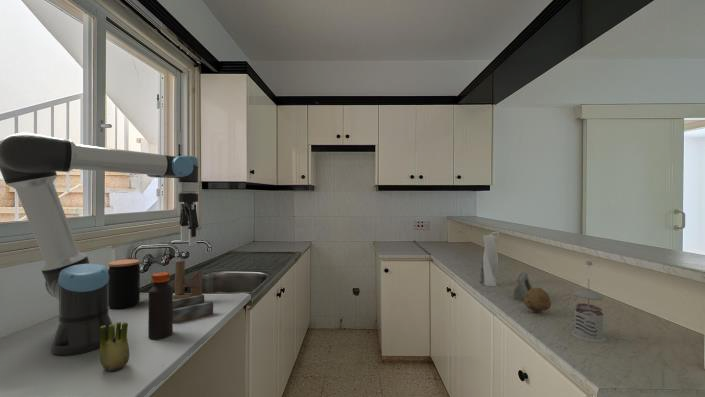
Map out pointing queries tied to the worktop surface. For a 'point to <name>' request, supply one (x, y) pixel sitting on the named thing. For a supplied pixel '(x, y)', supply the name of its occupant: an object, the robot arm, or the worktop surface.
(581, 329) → the french press
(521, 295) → the digital clock
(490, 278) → the skyscraper
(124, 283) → the coffee jar
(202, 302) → the metal-railed wooden board
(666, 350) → the worktop surface
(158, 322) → the bottle
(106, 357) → the fennel bulb
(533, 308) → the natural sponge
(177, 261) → the brown upright wooden piece
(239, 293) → the worktop surface
